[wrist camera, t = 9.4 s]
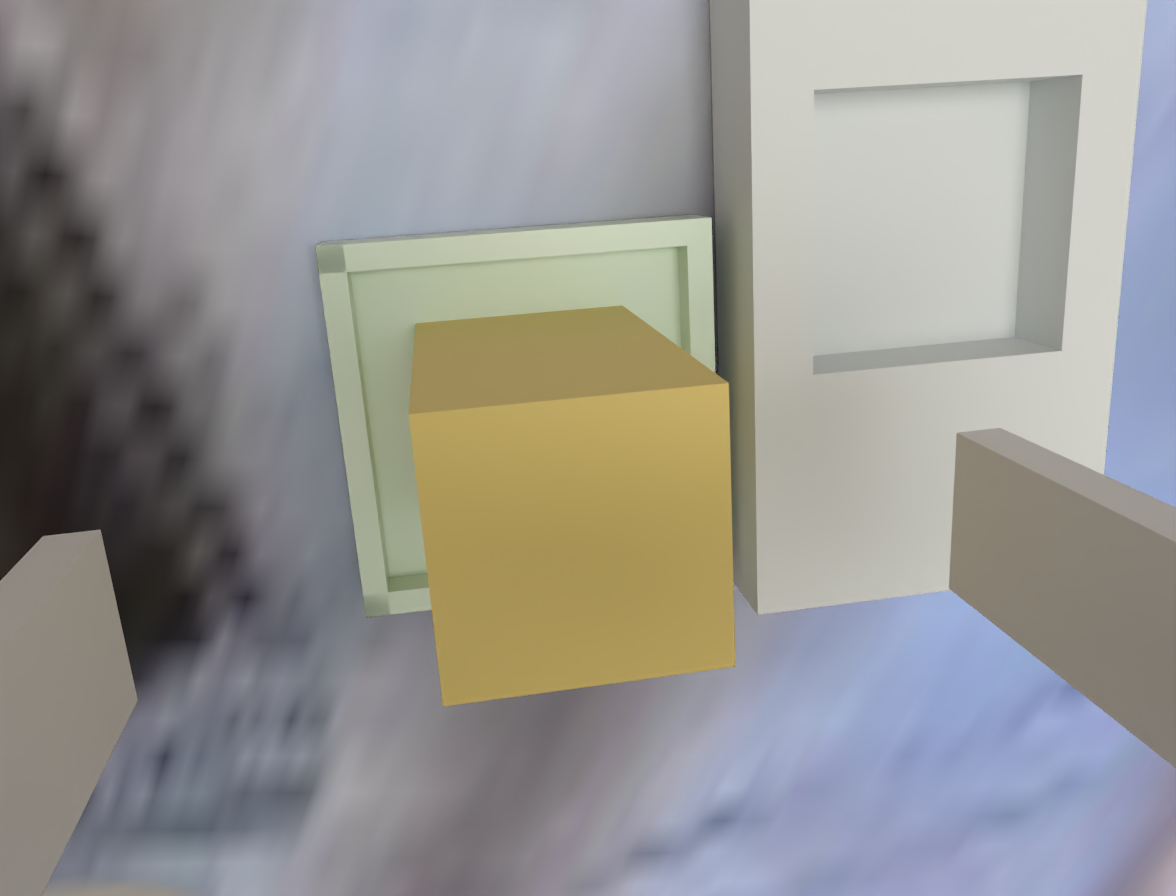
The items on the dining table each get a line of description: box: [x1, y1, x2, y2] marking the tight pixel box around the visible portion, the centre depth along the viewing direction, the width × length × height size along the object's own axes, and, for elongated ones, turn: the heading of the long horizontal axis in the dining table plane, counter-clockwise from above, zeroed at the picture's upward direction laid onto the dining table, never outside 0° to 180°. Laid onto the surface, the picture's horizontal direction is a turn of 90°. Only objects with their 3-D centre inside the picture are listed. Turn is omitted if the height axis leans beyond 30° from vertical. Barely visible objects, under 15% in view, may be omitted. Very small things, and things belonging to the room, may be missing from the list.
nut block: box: [408, 305, 735, 707], centre depth 20 cm, size 5×5×9 cm
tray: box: [315, 214, 715, 618], centre depth 24 cm, size 9×9×2 cm
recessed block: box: [710, 0, 1147, 615], centre depth 24 cm, size 9×18×3 cm, turn 3°
